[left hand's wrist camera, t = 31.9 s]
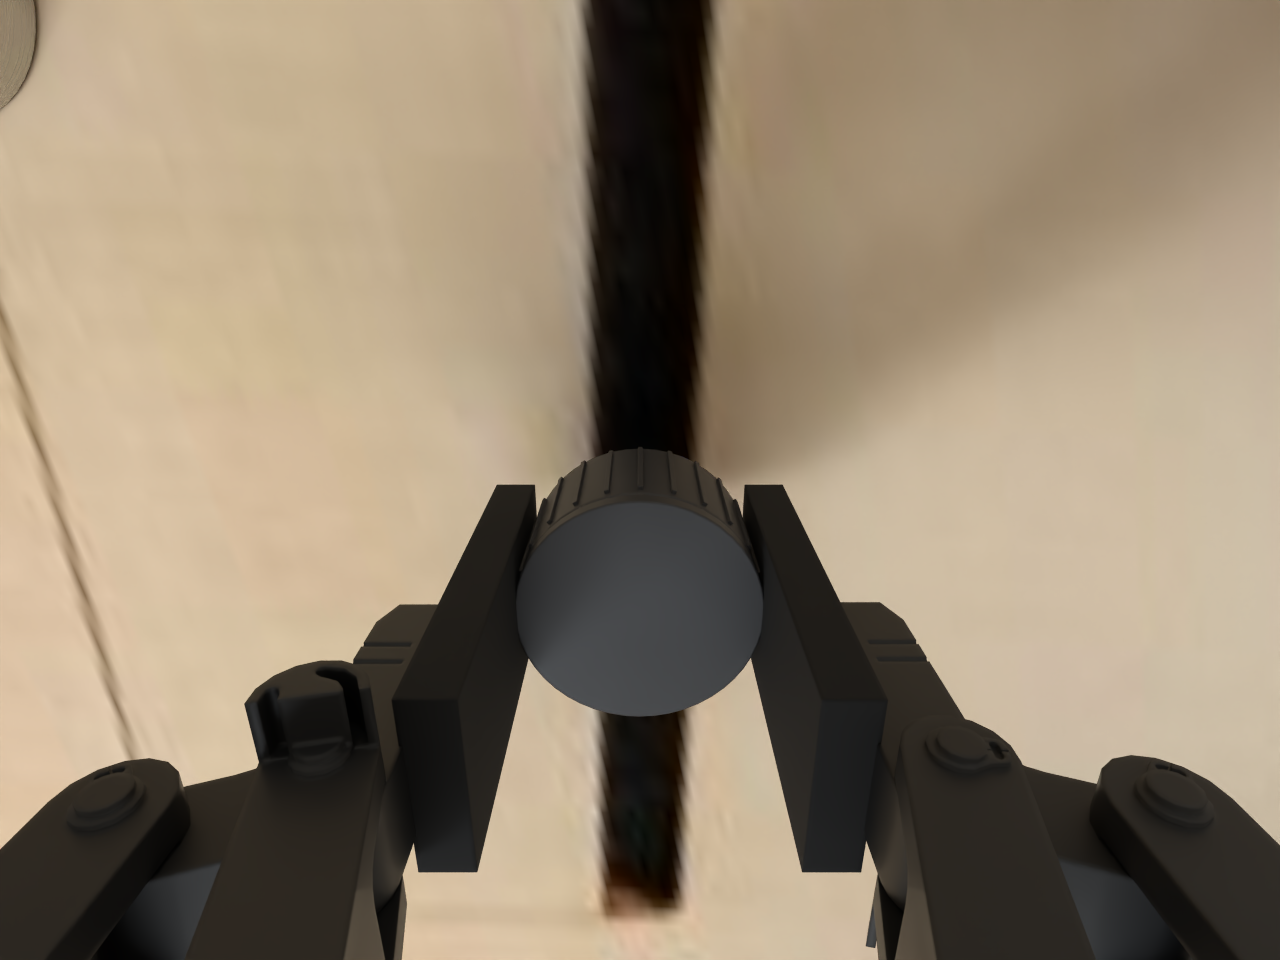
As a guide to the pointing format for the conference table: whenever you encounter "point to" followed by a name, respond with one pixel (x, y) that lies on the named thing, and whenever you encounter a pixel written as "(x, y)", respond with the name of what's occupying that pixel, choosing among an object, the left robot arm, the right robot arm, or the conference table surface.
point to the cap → (639, 585)
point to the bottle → (15, 45)
